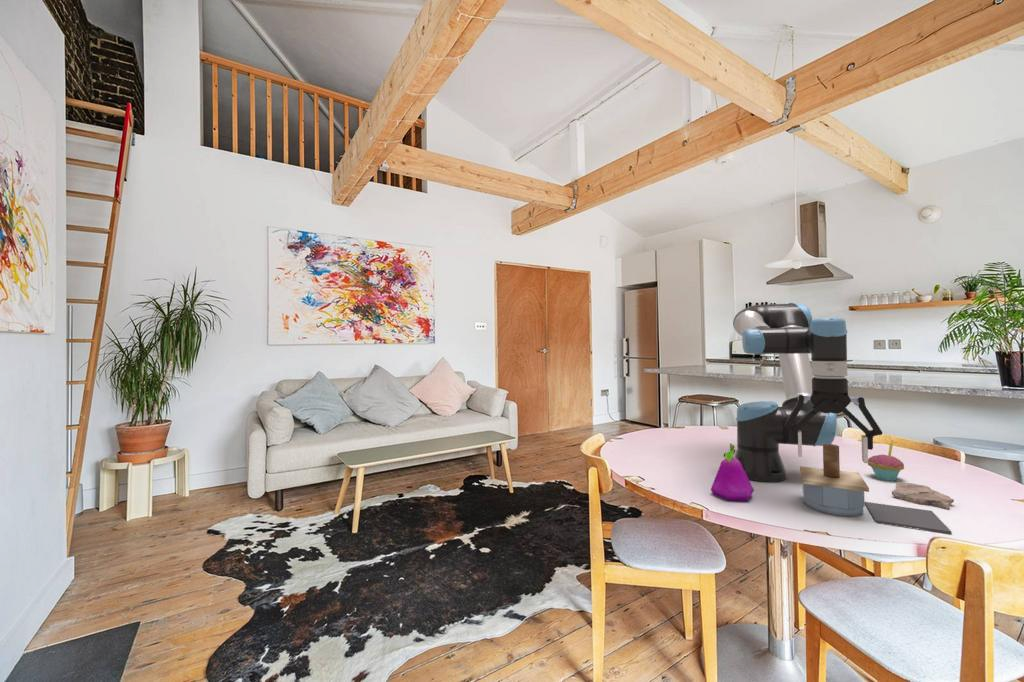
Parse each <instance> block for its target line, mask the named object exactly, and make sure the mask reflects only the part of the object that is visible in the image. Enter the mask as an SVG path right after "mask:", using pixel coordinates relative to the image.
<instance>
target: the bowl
mask: <svg viewBox="0 0 1024 682" xmlns="http://www.w3.org/2000/svg"><path fill="white" fill-rule="evenodd" d="M801 481H802V483H801V484H802V495H803V496H802V499H803V504H804V505H805V506H806V507H807V508H809V509H811V510H813V511H817V512H819V513H822V514H827V515H831V516H838V517H847V518H849V517H850V518H851V517H859V516H861V515H863V514H864V508H866V505H865V491H857V490H850V489H842V488H834V487H826V486H818V485H810V484H803V480H802V479H801Z"/></svg>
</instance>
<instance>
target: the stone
mask: <svg viewBox="0 0 1024 682" xmlns="http://www.w3.org/2000/svg"><path fill="white" fill-rule="evenodd" d="M894 487H895V488H894V489H893V490H892V491H891V495H892V496H893V497H894V498H895V499H897V500H901V501H905V502H908V503H912V504H917V505H920V506H921V505H926V506H931V507H936V508H939V509H943V510H950V507H951V505H952V503H954V501H955V499H954V498H951V497H950V496H948V495H946V494H944V493H941V492H938V491H937V490H934V489H932V488H931V487H930V486H928V485H923V484H917V483H910V482H903V481H898V482H896V483H895V486H894Z"/></svg>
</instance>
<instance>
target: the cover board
mask: <svg viewBox="0 0 1024 682" xmlns="http://www.w3.org/2000/svg"><path fill="white" fill-rule="evenodd" d="M822 462H823V464H822V466H823V467H822V468H820V467H811V466H810V467H809V466H804V465H803V466H802V465H801V466H799V472H800V475H801V478H802V479H801V481H802V480H803V484H810V485H818V486H826V487H834V488H842V489H850V490H857V491H864V493H865V492H867V493H870V487H869V486H868V484H867V483H866V481H865V480H864V478H863V477H862V475H861V474H860V472H858V471H857V472H856V471H846V470H841V468H840V466H841V465H840V464H841V463H840V445H837V444H834V443H831V444H823V446H822ZM803 484H802V485H803Z"/></svg>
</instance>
